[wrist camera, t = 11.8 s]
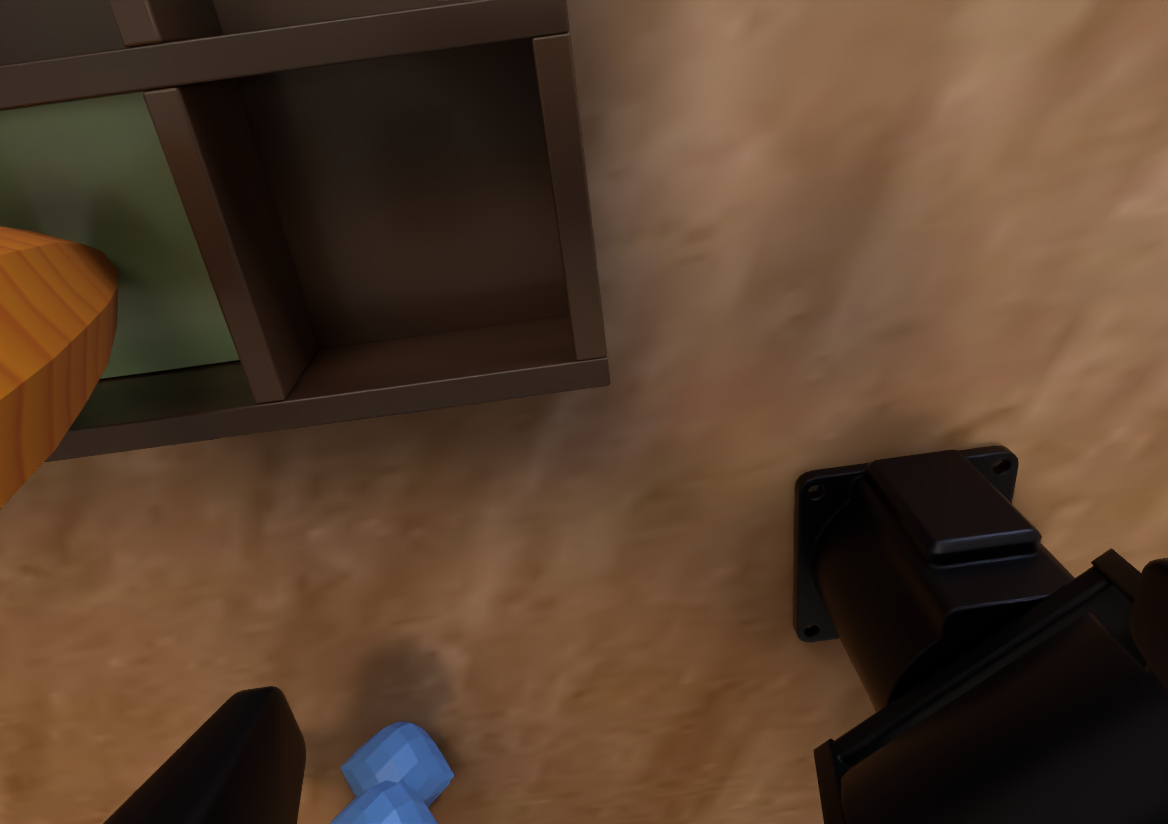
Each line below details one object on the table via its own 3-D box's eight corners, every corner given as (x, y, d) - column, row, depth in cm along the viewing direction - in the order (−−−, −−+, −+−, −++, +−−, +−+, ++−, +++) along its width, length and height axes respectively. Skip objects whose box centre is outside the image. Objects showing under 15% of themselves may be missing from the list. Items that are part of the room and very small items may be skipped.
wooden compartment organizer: (598, 327, 20) (611, 386, 17) (-222, 439, 20) (-365, 518, 17) (503, -472, 13) (493, -630, 10) (-751, -298, 13) (-1165, -401, 10)
